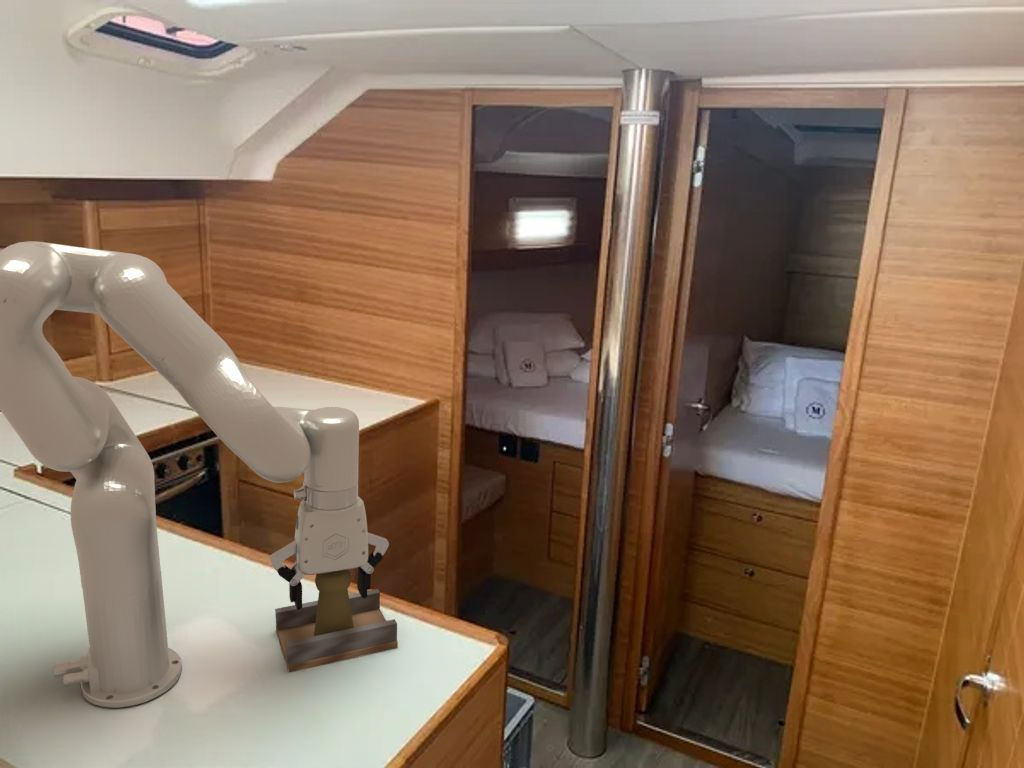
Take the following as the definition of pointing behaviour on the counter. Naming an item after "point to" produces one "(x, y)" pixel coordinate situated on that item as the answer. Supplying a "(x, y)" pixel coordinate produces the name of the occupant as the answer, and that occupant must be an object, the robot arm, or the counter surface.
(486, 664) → the counter surface
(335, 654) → the track
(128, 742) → the counter surface
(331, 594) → the olive brown pawn
